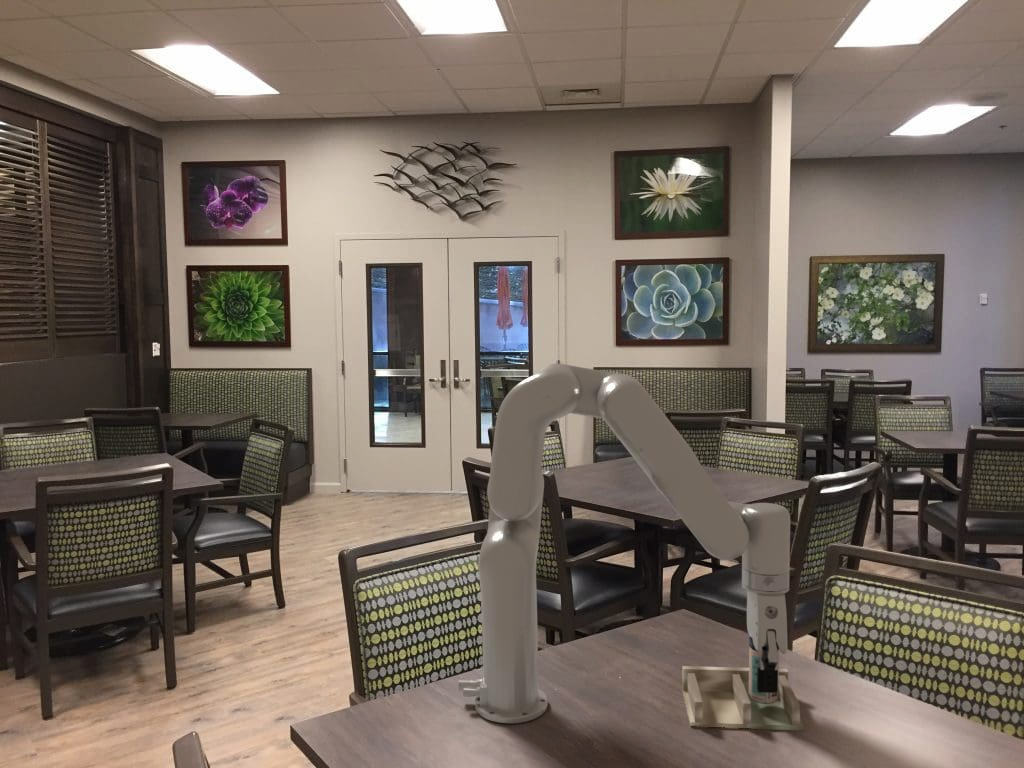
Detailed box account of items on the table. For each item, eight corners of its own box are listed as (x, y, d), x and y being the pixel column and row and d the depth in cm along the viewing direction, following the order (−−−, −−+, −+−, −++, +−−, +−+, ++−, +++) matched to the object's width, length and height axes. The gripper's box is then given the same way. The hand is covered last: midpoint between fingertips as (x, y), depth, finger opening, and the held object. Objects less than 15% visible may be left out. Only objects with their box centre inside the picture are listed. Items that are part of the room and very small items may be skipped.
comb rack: (690, 726, 132) (690, 698, 132) (682, 691, 144) (682, 666, 144) (804, 730, 130) (804, 702, 130) (786, 694, 142) (786, 668, 142)
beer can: (776, 693, 138) (777, 625, 137) (780, 707, 133) (781, 636, 132) (747, 691, 139) (748, 623, 138) (749, 704, 134) (750, 635, 133)
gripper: (801, 597, 125) (799, 709, 127) (776, 562, 142) (775, 662, 144) (752, 596, 126) (750, 708, 128) (733, 562, 143) (732, 661, 145)
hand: (763, 682), depth 136 cm, fingers closed on beer can, 4 cm apart
